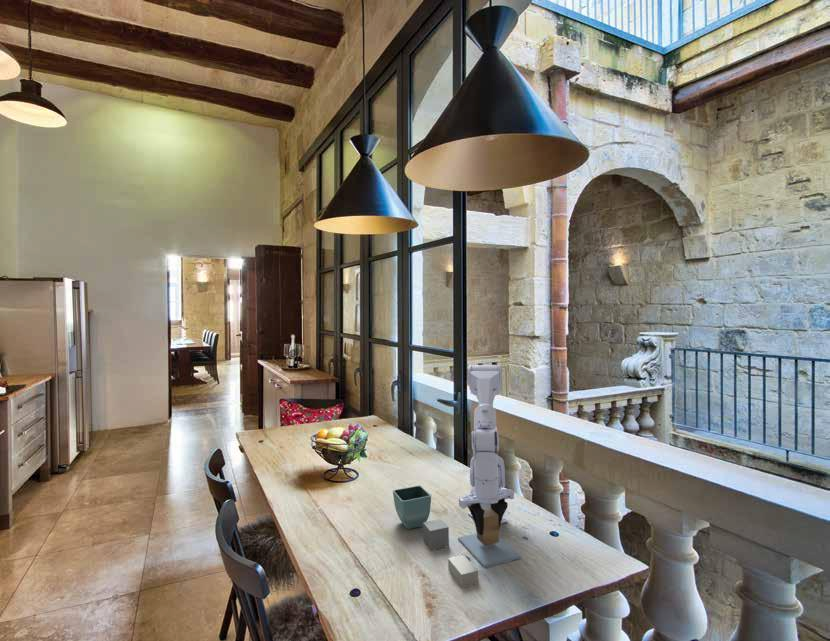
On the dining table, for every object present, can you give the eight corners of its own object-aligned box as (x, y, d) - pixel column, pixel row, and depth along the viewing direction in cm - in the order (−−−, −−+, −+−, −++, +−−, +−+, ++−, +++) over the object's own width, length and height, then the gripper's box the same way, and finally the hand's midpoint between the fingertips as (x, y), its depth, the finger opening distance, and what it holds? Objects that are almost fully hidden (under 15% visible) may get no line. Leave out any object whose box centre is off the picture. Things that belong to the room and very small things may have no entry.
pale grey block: (448, 571, 103) (448, 558, 103) (464, 567, 104) (463, 554, 104) (461, 588, 96) (461, 574, 96) (478, 584, 98) (478, 570, 98)
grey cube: (423, 541, 116) (423, 522, 116) (441, 537, 118) (440, 518, 118) (430, 550, 112) (430, 530, 112) (449, 546, 114) (448, 527, 113)
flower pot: (392, 520, 129) (391, 489, 128) (421, 515, 132) (420, 484, 132) (402, 534, 120) (401, 501, 120) (432, 528, 123) (432, 495, 123)
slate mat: (458, 539, 117) (458, 537, 117) (491, 532, 120) (491, 530, 120) (484, 567, 103) (484, 565, 103) (521, 558, 107) (521, 555, 107)
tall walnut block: (477, 538, 113) (476, 510, 113) (490, 535, 114) (490, 508, 114) (484, 545, 109) (484, 517, 109) (499, 542, 111) (498, 514, 110)
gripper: (467, 487, 105) (469, 544, 105) (520, 477, 110) (521, 532, 110) (454, 477, 112) (456, 531, 112) (505, 469, 117) (506, 520, 117)
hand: (487, 531), depth 112 cm, fingers closed on tall walnut block, 4 cm apart
